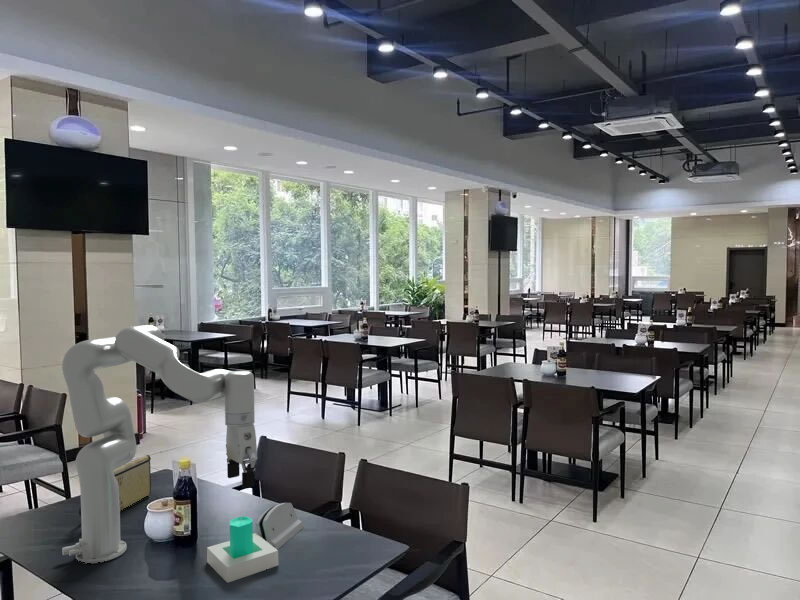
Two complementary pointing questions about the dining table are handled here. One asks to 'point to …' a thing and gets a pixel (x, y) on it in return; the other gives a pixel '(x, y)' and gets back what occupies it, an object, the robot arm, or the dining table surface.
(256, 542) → the candle holder
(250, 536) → the candle
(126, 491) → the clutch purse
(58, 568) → the dining table surface
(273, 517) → the hinge
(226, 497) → the dining table surface
